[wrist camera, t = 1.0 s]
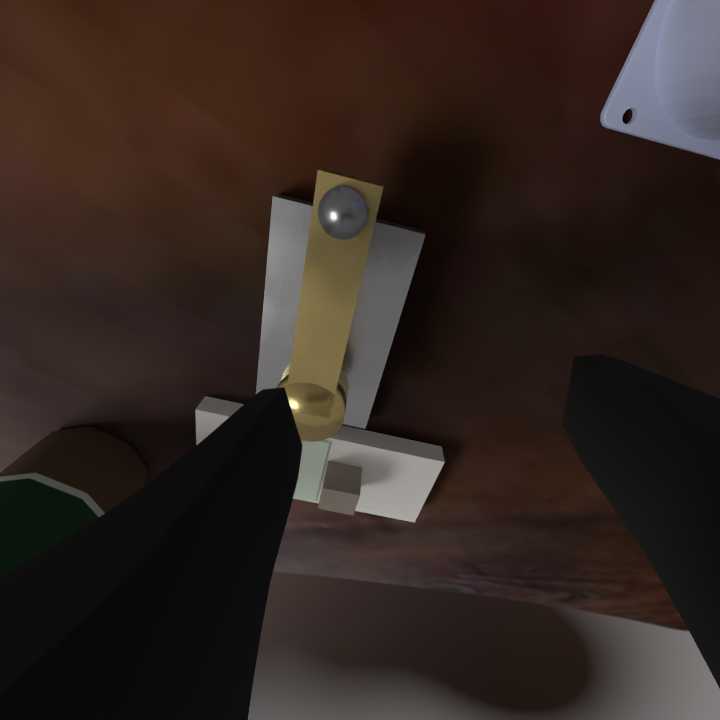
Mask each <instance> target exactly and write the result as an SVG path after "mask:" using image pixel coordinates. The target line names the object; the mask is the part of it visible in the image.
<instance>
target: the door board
mask: <svg viewBox="0 0 720 720" xmlns="http://www.w3.org/2000/svg"><path fill="white" fill-rule="evenodd" d="M243 405H244V404H240V403H236V402H231V401H226V400H222V399H217V398H212V397H208V396H205V397H204V399H203V400H202V401H201V403H200V404H199V405H198V407H197V408H196V409H195V413H196V445H198V444H199V443H200V442H201V441H202V440H204V439H205V438H206V437H207V436H208V435H209V434H211V433H212V432H213V431H214V430H215V429H216V428H218V427H219V426H220V425H221V424H222V423H223V422H224V421H226V420H227V419H228V418H229V417H230V416H231V415H232V414H234V413H235V412H236V411H237V410H238V409H239V408H240V407H241V406H243ZM301 442H302V453H301V461H300V468H299V475H298V481H297V485H296V489H295V492H294V496H293V499H298V500H303V501H308V502H314V503H319V505H318V509H323V510H328V511H333V512H338V513H343V514H349V515H354V512H355V511H360V512H365V513H370V514H375V515H380V516H385V517H390V518H395V519H400V520H405V521H410V522H415V520H416V518H417V516H418V514H419V512H420V511H421V509H422V507H423V505H424V503H425V501H426V499H427V497H428V495H429V493H430V491H431V489H432V487H433V485H434V483H435V481H436V479H437V477H438V475H439V473H440V471H441V469H442V467H443V465H444V463H445V461H444V456H443V451H442V446H437V445H432V444H428V443H423V442H418V441H414V440H409V439H404V438H400V437H395V436H390V435H386V434H381V433H376V432H372V431H367V430H362V429H358V428H353V427H348V426H343V425H342V427H341V429H340V430H339V431H338V432H337V433H336V434H335V435H333V436H332V437H330V438H328V439H325V440H322V441H316V442H307V441H301Z"/></svg>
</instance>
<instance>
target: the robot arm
mask: <svg viewBox="0 0 720 720" xmlns="http://www.w3.org/2000/svg"><path fill="white" fill-rule="evenodd" d="M628 109H631V110H632V112H633V116H632V119H631V120H630V121H629V122H628V123H627V124H625V123H623V120H622V117H623V114H624V113H625V111H626V110H628ZM600 118H601V123H602V125H603V126H604V127H606V128H608V129H612V130H615V131H619V132H622V133H626V134H629V135H633V136H637V137H640V138H644V139H647V140H651V141H655V142H658V143H662V144H665V145H669V146H672V147H676V148H680V149H683V150H687V151H690V152H694V153H698V154H701V155H705V156H708V157H712V158H715V159H719V160H720V0H655V1H654V3H653V5H652V7H651V10H650V12H649V14H648V16H647V18H646V20H645V22H644V24H643V26H642V28H641V30H640V32H639V35H638V37H637V39H636V41H635V43H634V45H633V47H632V49H631V51H630V53H629V55H628V58H627V60H626V62H625V64H624V66H623V68H622V70H621V72H620V74H619V76H618V78H617V81H616V83H615V85H614V87H613V89H612V91H611V93H610V95H609V97H608V99H607V101H606V104H605V106H604V108H603V110H602V113H601V116H600ZM563 425H564V427H565V430H566V432H567V434H568V436H569V438H570V440H571V442H572V444H573V446H574V448H575V450H576V452H577V454H578V456H579V458H580V460H581V461H582V463H583V464H584V466H585V467H586V469H587V470H588V472H589V473H590V475H591V476H592V478H593V479H594V481H595V482H596V483H597V485H598V486H599V488H600V489H601V491H602V492H603V494H604V495H605V497H606V498H607V500H608V501H609V502H610V504H611V505H612V507H613V508H614V510H615V511H616V513H617V514H618V515H619V517H620V518H621V520H622V521H623V523H624V524H625V526H626V527H627V528H628V530H629V531H630V533H631V534H632V536H633V537H634V539H635V540H636V542H637V543H638V544H639V546H640V547H641V549H642V550H643V552H644V553H645V555H646V557H647V558H648V560H649V561H650V563H651V564H652V566H653V568H654V569H655V571H656V572H657V574H658V576H659V578H660V579H661V581H662V583H663V585H664V586H665V588H666V590H667V592H668V594H669V595H670V597H671V599H672V601H673V602H674V604H675V606H676V608H677V610H678V611H679V613H680V615H681V617H682V618H683V620H684V622H685V624H686V626H687V628H688V629H689V631H690V633H691V635H692V637H693V639H694V641H695V642H696V644H697V646H698V648H699V650H700V652H701V654H702V656H703V658H704V660H705V661H706V663H707V665H708V667H709V669H710V671H711V673H712V675H713V676H714V678H715V680H716V682H717V684H718V686H719V688H720V399H719V398H716V397H714V396H711V395H708V394H706V393H703V392H701V391H698V390H696V389H693V388H690V387H688V386H685V385H683V384H680V383H678V382H675V381H673V380H670V379H668V378H665V377H663V376H660V375H658V374H655V373H653V372H650V371H648V370H645V369H642V368H640V367H637V366H635V365H632V364H629V363H627V362H624V361H621V360H618V359H615V358H612V357H609V356H606V355H602V354H598V355H589V356H579V357H574V360H573V366H572V372H571V378H570V383H569V389H568V395H567V401H566V407H565V412H564V418H563ZM301 453H302V442H301V439H300V436H299V433H298V429H297V426H296V423H295V420H294V416H293V413H292V410H291V407H290V404H289V400H288V397H287V394H286V391H285V387H282V388H272V389H263V390H261V391H260V392H258V393H257V394H256V395H254V396H253V397H252V398H251V399H250V400H248V401H247V402H246V403H245V404H244V405H243V406H241V407H240V408H239V409H238V410H237V411H236V412H235V413H234V414H232V415H231V416H230V417H229V418H228V419H227V420H226V421H224V422H223V423H222V424H221V425H220V426H219V427H218V428H216V429H215V430H214V431H213V432H212V433H211V434H209V435H208V436H207V437H206V438H205V439H204V440H202V441H201V442H200V443H199V444H198V445H196V446H195V447H194V448H193V449H191V450H190V451H189V452H188V453H186V454H185V455H184V456H183V457H181V458H180V459H179V460H178V461H177V462H175V463H174V464H173V465H172V466H170V467H169V468H168V469H167V470H165V471H164V472H163V473H161V474H160V475H159V476H157V477H156V478H155V479H153V480H152V481H151V482H149V483H148V484H147V485H145V486H144V487H143V488H141V489H140V490H138V491H137V492H135V493H134V494H133V495H131V496H130V497H128V498H127V499H125V500H124V501H123V502H121V503H120V504H118V505H117V506H115V507H114V508H112V509H111V510H109V511H108V512H106V513H105V514H103V515H102V516H100V517H98V518H97V519H95V520H94V521H92V522H90V523H89V524H87V525H86V526H84V527H82V528H81V529H79V530H78V531H76V532H74V533H73V534H71V535H70V536H68V537H66V538H65V539H63V540H62V541H60V542H58V543H57V544H55V545H54V546H52V547H50V548H49V549H47V550H46V551H44V552H42V553H40V554H39V555H37V556H35V557H34V558H32V559H30V560H28V561H27V562H25V563H23V564H21V565H20V566H18V567H16V568H14V569H13V570H11V571H9V572H7V573H6V574H4V575H2V576H0V720H248V713H249V706H250V698H251V691H252V685H253V678H254V672H255V666H256V659H257V654H258V647H259V641H260V635H261V629H262V624H263V618H264V613H265V607H266V602H267V596H268V591H269V585H270V581H271V577H272V573H273V569H274V565H275V561H276V557H277V554H278V550H279V547H280V543H281V539H282V536H283V532H284V529H285V525H286V522H287V518H288V514H289V511H290V507H291V503H292V500H293V496H294V492H295V489H296V485H297V481H298V475H299V468H300V461H301Z"/></svg>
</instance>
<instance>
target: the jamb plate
mask: <svg viewBox="0 0 720 720" xmlns="http://www.w3.org/2000/svg"><path fill="white" fill-rule="evenodd" d="M312 208H313V203H312V202H308V201H304V200H300V199H296V198H292V197H288V196H284V195H280V194H278V195H275V196H273V200H272V211H271V223H270V235H269V247H268V258H267V270H266V282H265V293H264V305H263V317H262V329H261V340H260V352H259V364H258V376H257V387H256V394H257V393H258V392H260V391H261V390H263V389H272V388H277V386H278V384H279V382H280V379H281V377H282V375H283V373H284V371H285V369H286V368H287V366H288V365H289V364H290V363H291V357H292V349H293V342H294V335H295V328H296V321H297V314H298V307H299V300H300V293H301V286H302V279H303V272H304V265H305V258H306V251H307V244H308V237H309V230H310V223H311V216H312ZM425 235H426V234H425V232H424V231H423V230H419V229H416V228H412V227H408V226H404V225H400V224H396V223H392V222H388V221H384V220H380V219H376V221H375V225H374V230H373V234H372V238H371V243H370V247H369V251H368V255H367V260H366V264H365V268H364V273H363V277H362V281H361V285H360V290H359V294H358V298H357V303H356V307H355V311H354V315H353V320H352V324H351V328H350V333H349V337H348V341H347V345H346V350H345V354H344V358H343V363H342V367H341V369H342V370H343V371H344V373H345V374H346V376H347V379H348V383H349V391H348V397H347V404H346V410H345V417H344V422H343V424H345V425H350V426H355V427H359V428H364V429H365V428H366V425H367V422H368V419H369V416H370V412H371V409H372V406H373V403H374V399H375V396H376V393H377V390H378V387H379V383H380V380H381V377H382V374H383V370H384V367H385V364H386V361H387V357H388V354H389V351H390V348H391V345H392V341H393V338H394V335H395V332H396V328H397V325H398V322H399V319H400V316H401V312H402V309H403V306H404V303H405V299H406V296H407V293H408V290H409V286H410V283H411V280H412V277H413V274H414V270H415V267H416V264H417V261H418V257H419V254H420V251H421V248H422V245H423V241H424V238H425Z"/></svg>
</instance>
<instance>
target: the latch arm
mask: <svg viewBox="0 0 720 720" xmlns="http://www.w3.org/2000/svg"><path fill="white" fill-rule="evenodd" d="M383 186H384V182H381V181H377V180H373V179H369V178H365V177H362V176H358V175H354V174H350V173H346V172H342V171H338V170H335V169H331V168H325V169H320V170H318V173H317V180H316V187H315V194H314V201H313V208H312V216H311V223H310V230H309V237H308V244H307V251H306V258H305V265H304V272H303V279H302V286H301V293H300V300H299V307H298V314H297V321H296V328H295V335H294V342H293V349H292V357H291V363H290V364H289V365H288V366H287V368H286V369H285V371H284V373H283V375H282V377H281V379H280V382H279V384H278V386H277V388H282V387H285V391H286V394H287V397H288V400H289V404H290V407H291V410H292V413H293V416H294V420H295V423H296V426H297V429H298V433H299V436H300V439H301V441H307V442H316V441H322V440H325V439H328V438H330V437H332V436H333V435H335V434H336V433H337V432H338V431H339V430H340V429H341V427H342V425H343V422H344V417H345V410H346V404H347V397H348V391H349V383H348V379H347V376H346V374H345V373H344V371H343V370H342V369H341V367H342V363H343V358H344V354H345V350H346V345H347V341H348V337H349V333H350V328H351V324H352V320H353V315H354V311H355V307H356V303H357V298H358V294H359V290H360V285H361V281H362V277H363V273H364V268H365V264H366V260H367V255H368V251H369V247H370V243H371V238H372V234H373V230H374V225H375V221H376V217H377V213H378V208H379V204H380V200H381V195H382V191H383Z"/></svg>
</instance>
